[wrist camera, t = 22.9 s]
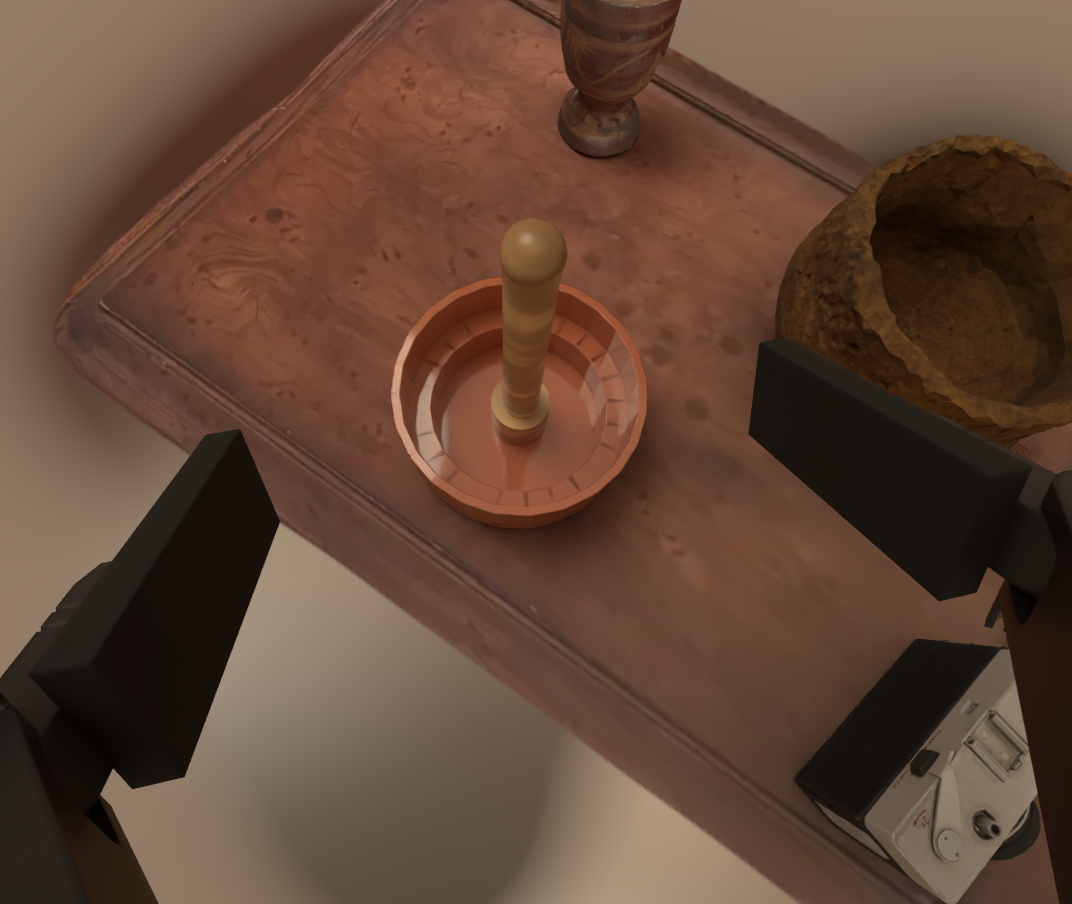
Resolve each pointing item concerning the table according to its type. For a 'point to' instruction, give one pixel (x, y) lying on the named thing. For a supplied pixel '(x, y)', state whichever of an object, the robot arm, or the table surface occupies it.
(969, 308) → the bowl
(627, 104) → the mortar and pestle
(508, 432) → the muddler
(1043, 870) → the table surface
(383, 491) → the table surface
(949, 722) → the camera
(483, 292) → the mixing bowl
